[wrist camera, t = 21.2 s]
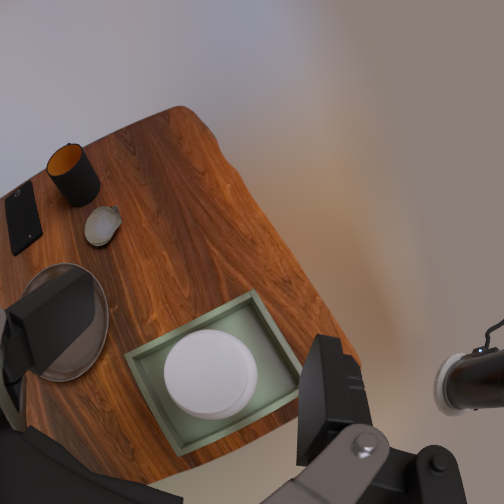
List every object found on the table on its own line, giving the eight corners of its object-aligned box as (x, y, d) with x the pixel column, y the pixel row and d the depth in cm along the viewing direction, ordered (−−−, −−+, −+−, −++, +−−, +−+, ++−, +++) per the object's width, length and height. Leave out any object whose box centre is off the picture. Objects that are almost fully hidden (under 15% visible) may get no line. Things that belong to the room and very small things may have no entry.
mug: (98, 159, 58) (82, 126, 49) (102, 198, 54) (82, 165, 44) (67, 172, 56) (49, 142, 47) (67, 212, 52) (45, 183, 43)
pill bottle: (225, 422, 23) (216, 449, 13) (170, 381, 24) (128, 379, 14) (265, 370, 25) (284, 362, 15) (211, 331, 27) (195, 298, 17)
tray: (247, 328, 45) (254, 288, 26) (281, 384, 41) (314, 386, 23) (171, 367, 42) (123, 354, 23) (203, 425, 38) (177, 457, 20)
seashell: (90, 226, 53) (90, 255, 48) (82, 216, 50) (81, 246, 46) (124, 207, 53) (127, 235, 49) (116, 196, 51) (118, 225, 46)
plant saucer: (34, 267, 47) (25, 260, 44) (122, 270, 48) (115, 262, 45) (20, 371, 38) (9, 369, 35) (112, 391, 39) (104, 391, 36)
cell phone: (31, 181, 55) (30, 179, 54) (43, 234, 49) (41, 232, 49) (6, 201, 53) (4, 199, 52) (14, 257, 47) (12, 255, 46)
